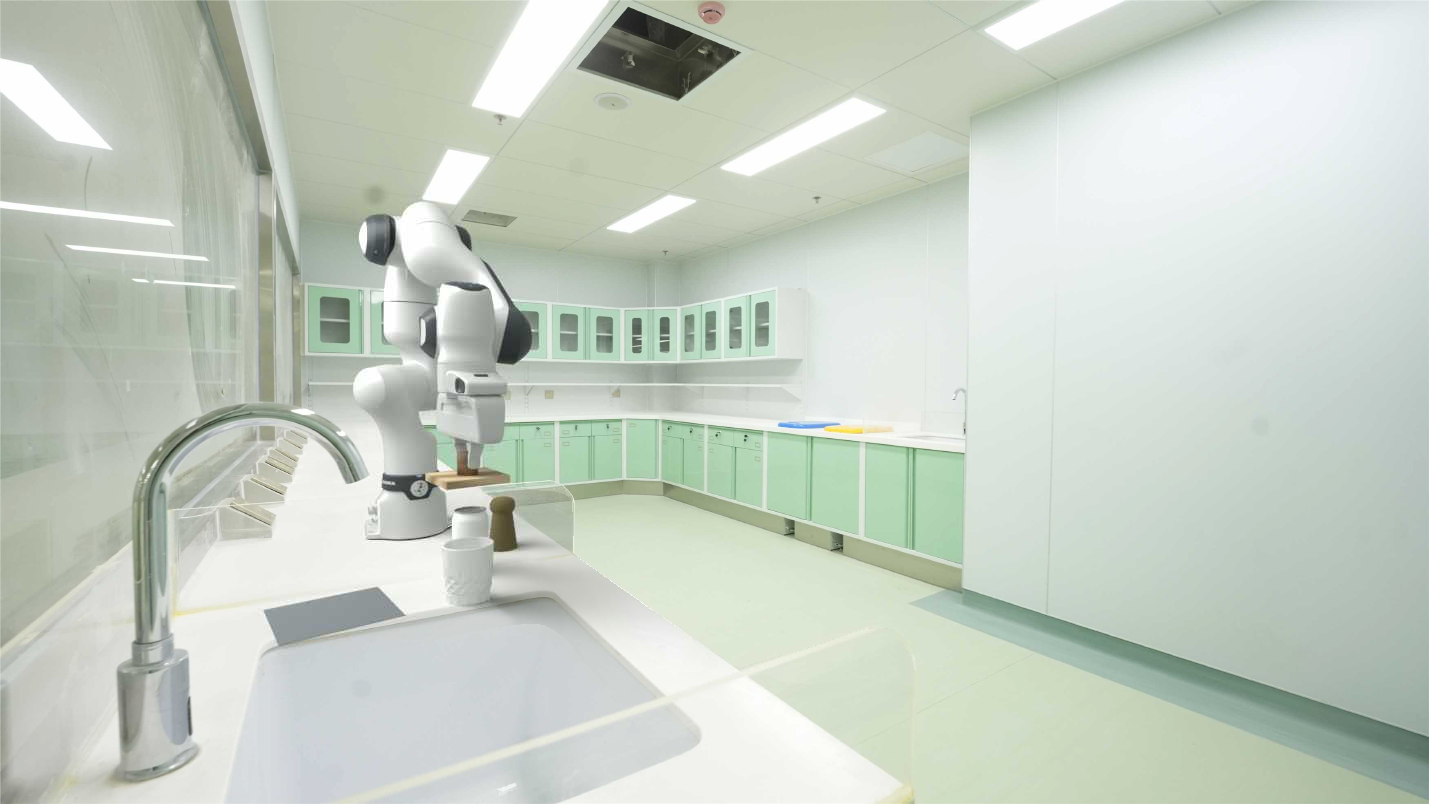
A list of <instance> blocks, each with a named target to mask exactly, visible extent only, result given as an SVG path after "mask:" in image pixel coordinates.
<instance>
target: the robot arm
mask: <svg viewBox="0 0 1429 804" xmlns="http://www.w3.org/2000/svg"><path fill="white" fill-rule="evenodd" d="M358 241H359V242H358V243H359V246H360V249H361V251H362V253H363V254H362V255H363V257H364V258H365V260H367V261H368V262H370V263H373V264H375V265H379V266H382V267H385V266H387V269H386V275H385V281H384V287H383V335H384V337H385V339H386V341H387V342H388V343H390V344H391V345H393V346H394V347H395V348H396V349H397V351H398V353H399V355H400V358H401V361H402V364H396V363H395V364H393V363H391V364H387V363H386V364H385V363H384V364H379V365H375V366H371V367H370V366H369V367H367V368H362V370H360V372H358V373H357V375H356V376H355V379H354V381H353V384H352V393H353V394H352V395H353V397H354V400H355V402H356V403H357V405H358V406H359V407H360V408H361V409H362V410H363V411H365V412H366V413H368V415H370V417H371V418H372V419H373V420H374V422H375V424H376V426H377V427H378V430H379V433H380V434H381V439H382V447H383V463H384V466H383V467H384V470H383V471H384V472H383V473H382V477H381V491H380V493H379V495H378V496H377V498H376V499H375V501H374V503H372V504H369V505H368V506H367V515H368V516H372V518H370V519H367V520H364V530H365V536H366V539H368V540H371V539H372V540H374V539H375V540H376V539H377V540H378V539H379V540H380V539H382V540H410V539H412V540H413V539H420V538H424V537H430V536H435V535H437V534H440V533H442V532H444V531H445V530H447V528H446V527H448V526H450V525H452V519H449V518H448V506H447V502H448V501H447V494H446V492H444V490H443V489H442V488H441V487H439V486H437V485H435V484H432V483H430V482H428V481H426V477H425V473H432V472H440V470H439V469H438V439H437V437H436V435H435V434H434V433H432V432H431V431H430V430H428V429H426V427H424V425H423V423H422V420H421V417H420V412H428V411H429V412H431V411H436V414H435V416H436V417H435V418H436V419H435V427H436V431H437V433H438V434H439V435H444V436H447V437H450V438H451V444H452V448H453V451H454V455H455V464H456V465H457V452H462V451H468V457H466V467H467V468H470V469H478V468H481V458H482V454H483V451H484V448H485V445H494V444H495V445H496V444H500V443H501V442H502V440H503V437H504V435H505V424H506V403H505V402H506V401H505V399H504V395H507V393H508V381H506V379H504V378H503V377H502V376H501V375H500V373H498V371H497V364H501V365H502V364H503V365H509V366H510V365H513V366H514V365H515V364H517V363H518V362H520V361H521V360H523V359H524V357H526V355H528V354H529V352H530V351H531V348H532V346H533V345H532V344H533V334H532V333H533V332H532V326H531V325H530V322H529V319H527V317H526V316H525V315H524V313H523V312H522V311H521V310H520V309H519V308H518V307H517V306H516V304H514V302H513V300H512V298H511V297H510V296H509V294H508V292H507V291H506V289H505V287H504V286H503V285H502V283H501V281H500V280H499V278H498V277H497V275H496V273H495V272H494V270H493V268H492V267H491V265H489V263H488V262H486V261H485V260H484V259H482V258H481V257H479V256H477V254H475V253H474V251H473V250H474V249H473V243H472V238H471V235H470V233H469V232H468V229H466V228H465V227H463V226H460V225H457V224H456V223H455V222H454V221H453V219H452V218H451V216H450V215H449V213H447V211H446V210H445V209H444V208H443V207H442V206H440V205H438V204H437V203H434V202H430V201H418V202H414V203H413V204H410V205H409V206H407V208H406V209H405V210H404V211H403V213H402V215H399V216H398V215H389V214H386V213H381V214H378V213H377V214H371V215H369V216H367V217H366V218H365V219H364V220H363V223H362V225H361V227H360V230H359V234H358ZM437 289H439V295H438V290H437ZM373 515H374V516H373Z"/></svg>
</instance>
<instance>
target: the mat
mask: <svg viewBox="0 0 1429 804" xmlns="http://www.w3.org/2000/svg"><path fill="white" fill-rule="evenodd" d="M263 613H264V614H265V617H266V620H267V622H268V624H269V626H270V628H271V631H272V634H273V635H274V638H275V640H276V643H277V645H278V646H279V647H280V646H284V645H288V644H293V643H297V642H301V641H302V642H303V641H305V640H309V639H313V638H317V637H322V636H325V635H330V634H334V633H339V632H344V631H347V630H351V629H356V628H359V627H363V626H367V625H372V624H377V623H380V622H384V621H388V620H392V619H397V618H401V617H404V616H405V617H406V614H405V613H404V611H402V610H401V608H399V606H397V604H395V603H394V602H393V601H392V600H391V599H390V598H389V596H387V594H385V592H384V591H383V590H382V589H381V588H379V586H374V587H368V588H363V589H358V590H355V591H354V590H353V591H349V592H344V593H340V594H336V595H334V594H333V595H330V596H324V597H320V598H315V599H311V600H305V601H301V602H296V603H292V604H287V605H285V604H284V605H281V606H276V607H270V608H267V609H263Z"/></svg>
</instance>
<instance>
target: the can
mask: <svg viewBox="0 0 1429 804" xmlns="http://www.w3.org/2000/svg"><path fill="white" fill-rule="evenodd" d="M489 519H490V517H489V514H488V511H487V508H486V506H480V505H470V506H461V507H458V508H455V509H454V514H453V516H452V517H451V520H452V526H451V540H453V539H458V538H464V537H486V538H489V536H490V531H489V530H490V529H489V527H490V525H489V522H490V521H489Z"/></svg>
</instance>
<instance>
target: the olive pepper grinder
mask: <svg viewBox="0 0 1429 804" xmlns="http://www.w3.org/2000/svg"><path fill="white" fill-rule="evenodd" d="M515 509H516V501H515V498H513V497H511V496H505V495H503V496H497V497H493V498H492V499H491V501H490V502H489V511H490V512H491V522H490V529H489V530H490V531H489V538H490V539H492V540H493V541H494V550H493V553H504V552H510V551H514V550H516V549H517V548H518V541H517V533H516V526H515V521H514V520H515V519H514V513H513V512H514V511H515Z"/></svg>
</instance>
